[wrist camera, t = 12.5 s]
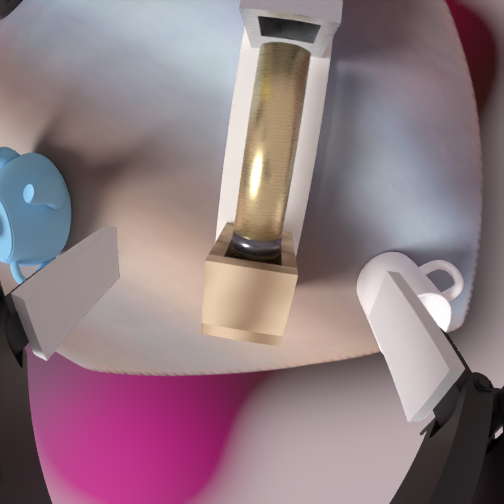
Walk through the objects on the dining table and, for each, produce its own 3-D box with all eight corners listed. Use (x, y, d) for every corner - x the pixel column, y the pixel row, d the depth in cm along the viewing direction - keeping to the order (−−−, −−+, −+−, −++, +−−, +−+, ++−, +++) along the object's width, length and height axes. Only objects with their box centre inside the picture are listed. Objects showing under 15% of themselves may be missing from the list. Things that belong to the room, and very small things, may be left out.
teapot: (19, 130, 27) (-42, 142, 16) (100, 167, 29) (29, 189, 18) (7, 227, 34) (-41, 254, 22) (78, 276, 36) (28, 322, 24)
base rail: (213, 278, 33) (212, 281, 33) (259, -38, 18) (258, -42, 17) (287, 290, 33) (287, 293, 33) (337, -27, 17) (338, -30, 17)
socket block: (221, 277, 33) (201, 333, 24) (227, 220, 30) (205, 260, 21) (279, 287, 33) (279, 346, 24) (291, 230, 30) (298, 275, 21)
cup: (344, 271, 32) (367, 322, 22) (426, 222, 28) (473, 257, 19) (368, 317, 34) (390, 372, 25) (442, 274, 31) (480, 316, 21)
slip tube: (260, 54, 19) (257, 39, 15) (308, 61, 19) (314, 47, 15) (231, 266, 27) (224, 288, 23) (273, 273, 27) (272, 296, 23)
